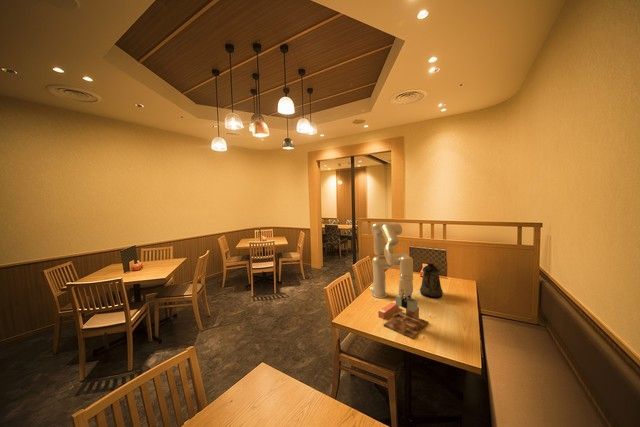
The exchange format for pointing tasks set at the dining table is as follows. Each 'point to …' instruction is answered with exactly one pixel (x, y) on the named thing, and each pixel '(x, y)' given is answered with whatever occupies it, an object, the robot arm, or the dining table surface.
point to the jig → (406, 323)
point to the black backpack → (431, 282)
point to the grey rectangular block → (408, 303)
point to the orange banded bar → (388, 310)
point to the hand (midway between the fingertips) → (406, 305)
